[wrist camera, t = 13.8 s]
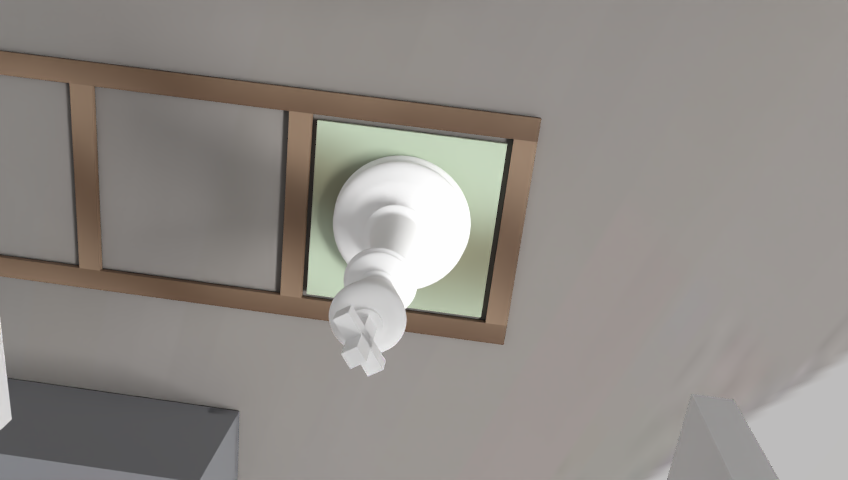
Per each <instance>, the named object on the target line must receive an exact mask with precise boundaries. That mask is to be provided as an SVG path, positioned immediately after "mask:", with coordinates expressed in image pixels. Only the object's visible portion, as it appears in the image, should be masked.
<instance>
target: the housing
mask: <svg viewBox="0 0 848 480" xmlns="http://www.w3.org/2000/svg"><path fill="white" fill-rule="evenodd" d="M7 382H8V391H9V399H10V408H11V417H12V420H11V421H10V422H8V423H7V424H6V425H5V426H4V427H3V428H2V429H1V430H0V480H237V477H238V442H239V411H234V410H227V409H220V408H213V407H206V406H199V405H192V404H185V403H178V402H171V401H164V400H157V399H149V398H142V397H135V396H128V395H121V394H114V393H107V392H100V391H93V390H86V389H79V388H72V387H65V386H58V385H51V384H44V383H37V382H29V381H22V380H15V379H8V378H7Z"/></svg>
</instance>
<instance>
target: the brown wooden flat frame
mask: <svg viewBox="0 0 848 480" xmlns="http://www.w3.org/2000/svg"><path fill="white" fill-rule="evenodd" d="M0 75H8V76H16V77H24V78H32V79H40V80H48V81H56V82H64V83H69V85H70V103H71V122H72V140H73V159H74V178H75V196H76V215H77V233H78V252H79V266H78V265H70V264H63V263H56V262H48V261H41V260H33V259H26V258H19V257H11V256H4V255H0V276H3V277H10V278H17V279H24V280H32V281H39V282H46V283H54V284H61V285H68V286H76V287H83V288H90V289H98V290H105V291H112V292H120V293H127V294H134V295H142V296H149V297H156V298H164V299H171V300H178V301H186V302H193V303H200V304H208V305H215V306H222V307H230V308H237V309H244V310H252V311H259V312H266V313H274V314H281V315H288V316H296V317H303V318H310V319H318V320H325V321H329V309H330V305H331V303H332V301H333V300H329V299H322V298H314V297H307V296H302V294H303V277H304V261H305V244H306V227H307V210H308V194H309V177H310V160H311V143H312V127H313V114H318V115H326V116H334V117H342V118H349V119H357V120H365V121H373V122H381V123H389V124H397V125H405V126H413V127H421V128H429V129H437V130H445V131H453V132H461V133H468V134H476V135H484V136H492V137H500V138H508V139H514V140H513V146H512V153H511V159H510V166H509V172H508V179H507V185H506V191H505V198H504V204H503V211H502V217H501V224H500V230H499V237H498V243H497V249H496V256H495V262H494V269H493V275H492V282H491V288H490V294H489V301H488V307H487V314H486V320H485V321H484V320H477V319H469V318H462V317H454V316H447V315H440V314H432V313H425V312H418V311H410V310H406V317H407V322H406V328H405V331H406V332H413V333H420V334H428V335H435V336H442V337H450V338H457V339H464V340H472V341H479V342H486V343H494V344H501V345H504V339H505V333H506V327H507V321H508V315H509V309H510V303H511V297H512V291H513V285H514V279H515V273H516V267H517V261H518V255H519V249H520V243H521V237H522V231H523V225H524V219H525V213H526V207H527V201H528V195H529V189H530V183H531V177H532V171H533V165H534V159H535V153H536V147H537V141H538V135H539V129H540V123H541V118H537V117H529V116H521V115H513V114H505V113H497V112H489V111H481V110H473V109H465V108H457V107H449V106H441V105H433V104H425V103H417V102H409V101H401V100H393V99H385V98H377V97H369V96H361V95H353V94H345V93H337V92H329V91H321V90H313V89H305V88H297V87H289V86H281V85H273V84H265V83H257V82H249V81H241V80H233V79H225V78H217V77H209V76H201V75H193V74H185V73H177V72H169V71H161V70H153V69H145V68H137V67H129V66H121V65H113V64H105V63H97V62H89V61H81V60H73V59H65V58H57V57H49V56H41V55H33V54H25V53H17V52H9V51H1V50H0ZM95 86H96V87H104V88H111V89H119V90H127V91H135V92H143V93H151V94H159V95H167V96H175V97H183V98H191V99H199V100H207V101H215V102H223V103H230V104H238V105H246V106H254V107H262V108H270V109H278V110H286V111H289V126H288V146H287V167H286V188H285V208H284V229H283V250H282V271H281V291H280V293H277V292H270V291H262V290H255V289H248V288H240V287H233V286H225V285H218V284H211V283H203V282H196V281H189V280H181V279H174V278H166V277H159V276H152V275H144V274H137V273H129V272H122V271H115V270H107V269H102V248H101V224H100V200H99V177H98V153H97V129H96V106H95ZM506 150H507V143H503V142H495V141H487V140H479V139H471V138H463V137H455V136H447V135H439V134H431V133H424V132H416V131H408V130H400V129H392V128H384V127H376V126H368V125H360V124H352V123H344V122H336V121H329V120H321V119H318V120H317V135H316V151H315V167H314V183H313V199H312V216H311V232H310V248H309V264H308V280H307V294H311V295H318V296H326V297H333V298H334V297H335V296H336V294H337V293H338V292H339V291H340V290H341V289H343V288H344V272H345V269H346V267H347V265H348V264H347V263H346V262H345V260H344V259H343V257H342V255H341V254H340V252H339V250H338V247H337V245H336V241H335V238H334V232H333V215H334V209H335V204H336V200H337V197H338V195H339V193H340V190H341V189H342V187H343V185H344V184H345V182H346V181H347V180H348V179H349V177H350V176H351V175H352V174H353V173H354V172H355V171H357V170H358V169H359V168H361V167H362V166H364V165H365V164H367V163H369V162H371V161H374V160H376V159H379V158H383V157H388V156H397V155H403V156H412V157H417V158H420V159H424V160H426V161H429V162H431V163H433V164H435V165H436V166H438V167H440V168H441V169H443V170H444V171H445V172H446V173H448V174H449V175H450V176H451V177H452V178H453V179H454V181H455V182H456V183H457V184H458V186H459V187H460V189H461V190H462V192H463V194H464V196H465V198H466V201H467V204H468V207H469V211H470V218H471V228H470V235H469V240H468V243H467V246H466V248H465V250H464V252H463V254H462V256H461V258H460V259H459V261H458V263H457V264H456V265H455V267H454V268H453V269H452V270H451V271H450V272H449V273H448V274H447V275H446V276H444V277H443V278H442V279H440V280H439V281H437V282H435V283H433V284H431V285H429V286H426V287H423V288H420V289H417V291H416V294H415V297H414V299H413V301H412V302H411V303H410V305H409V306H408V307H407V308H414V309H422V310H429V311H437V312H444V313H451V314H459V315H466V316H474V317H481V313H482V307H483V300H484V294H485V287H486V281H487V274H488V267H489V261H490V254H491V248H492V241H493V235H494V228H495V222H496V215H497V209H498V202H499V195H500V189H501V182H502V176H503V169H504V163H505V156H506Z"/></svg>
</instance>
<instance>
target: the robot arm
mask: <svg viewBox="0 0 848 480" xmlns="http://www.w3.org/2000/svg"><path fill="white" fill-rule="evenodd" d="M11 420H12V417H11V408H10V399H9V391H8V382H7V373H6V365H5V356H4V347H3V339H2V330H1V321H0V430H1V429H2V428H3V427H4V426H5V425H6V424H7V423H8V422H10V421H11ZM667 480H779V479H778V477H777V475H776V473H775V472H774V470H773V468H772V466H771V465H770V463H769V461H768V460H767V458H766V456H765V454H764V452H763V451H762V449H761V447H760V445H759V443H758V442H757V440H756V438H755V436H754V435H753V433H752V431H751V429H750V428H749V426H748V424H747V422H746V421H745V419H744V417H743V415H742V413H741V412H740V410H739V408H738V406H737V405H736V403H735V401H734V399H726V398H719V397H712V396H705V395H697V394H691V397H690V401H689V404H688V408H687V411H686V415H685V418H684V422H683V425H682V429H681V432H680V436H679V439H678V443H677V446H676V450H675V453H674V457H673V460H672V464H671V467H670V471H669V474H668V478H667Z"/></svg>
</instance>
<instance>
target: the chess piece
mask: <svg viewBox="0 0 848 480" xmlns="http://www.w3.org/2000/svg"><path fill="white" fill-rule="evenodd" d="M470 228H471V218H470V211H469V207H468V204H467V201H466V198H465V196H464V194H463V192H462V190H461V189H460V187H459V186H458V184H457V183H456V182H455V181H454V179H453V178H452V177H451V176H450V175H449V174H448V173H446V172H445V171H444V170H443V169H441V168H440V167H438V166H436V165H435V164H433V163H431V162H429V161H426V160H424V159H420V158H417V157H412V156H403V155H397V156H388V157H383V158H379V159H376V160H374V161H371V162H369V163H367V164H365V165H364V166H362V167H361V168H359V169H358V170H357V171H355V172H354V173H353V174H352V175H351V176H350V177H349V179H348V180H347V181H346V182H345V184H344V185H343V187H342V189H341V190H340V193H339V195H338V197H337V200H336V204H335V209H334V215H333V232H334V238H335V241H336V245H337V247H338V250H339V252H340V254H341V255H342V257H343V259H344V260H345V262H346V263H347V264H348V265H347V267H346V269H345V272H344V288H343V289H341V290H340V291H339V292H338V293H337V294H336V296H335V297H334V299H333V301H332V303H331V305H330V309H329V323H330V327H331V330H332V332H333V333H334V335H335V337H336V338H337V339H338V340H339V341H340V342H341V343H342V344H343V345H344V347H343V350H342V352H341V355H342V356H343V358H344V360H345V361H346V363H347V364H348V366H349V367H350V369H351V368H354V367H356V366H358V365H361V366H362V368H363V369H364V371H365V373H366V374H367V376H370V375H373V374H375V373H377V372H379V371H382V370H384V366H385V362H386V360H385V358H384V357H383V355H382V354H381V352H384V351H386V350H388V349H390V348H391V347H393V346H394V345H395V344H396V343H397V342H398V341H399V340H400V339H401V337H402V336H403V333H404V331H405V328H406V322H407V317H406V310H405V308H407V307H408V306H409V305H410V303H411V302H412V301H413V299H414V297H415V294H416V291H417V289H420V288H423V287H426V286H429V285H431V284H433V283H435V282H437V281H439V280H440V279H442V278H443V277H444V276H446V275H447V274H448V273H449V272H450V271H451V270H452V269H453V268H454V267H455V265H456V264H457V263H458V261H459V259H460V258H461V256H462V254H463V252H464V250H465V248H466V246H467V243H468V240H469V235H470Z"/></svg>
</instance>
